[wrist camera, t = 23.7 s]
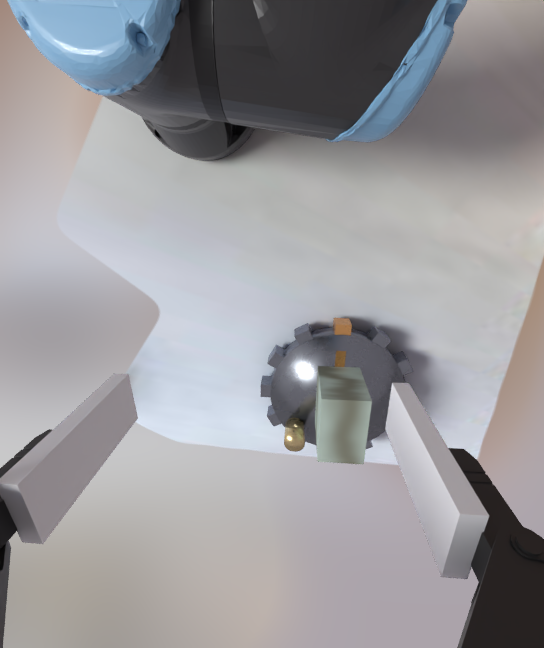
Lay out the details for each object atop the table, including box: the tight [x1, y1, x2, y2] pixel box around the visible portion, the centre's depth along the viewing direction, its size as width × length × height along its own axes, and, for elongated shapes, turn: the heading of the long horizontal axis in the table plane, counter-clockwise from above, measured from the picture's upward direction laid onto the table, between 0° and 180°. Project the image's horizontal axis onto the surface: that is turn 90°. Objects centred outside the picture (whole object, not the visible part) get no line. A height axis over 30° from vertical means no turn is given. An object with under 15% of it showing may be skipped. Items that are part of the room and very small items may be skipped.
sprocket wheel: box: [261, 318, 416, 451], centre depth 46 cm, size 23×23×7 cm
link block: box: [315, 366, 372, 464], centre depth 42 cm, size 6×10×8 cm, turn 1°
